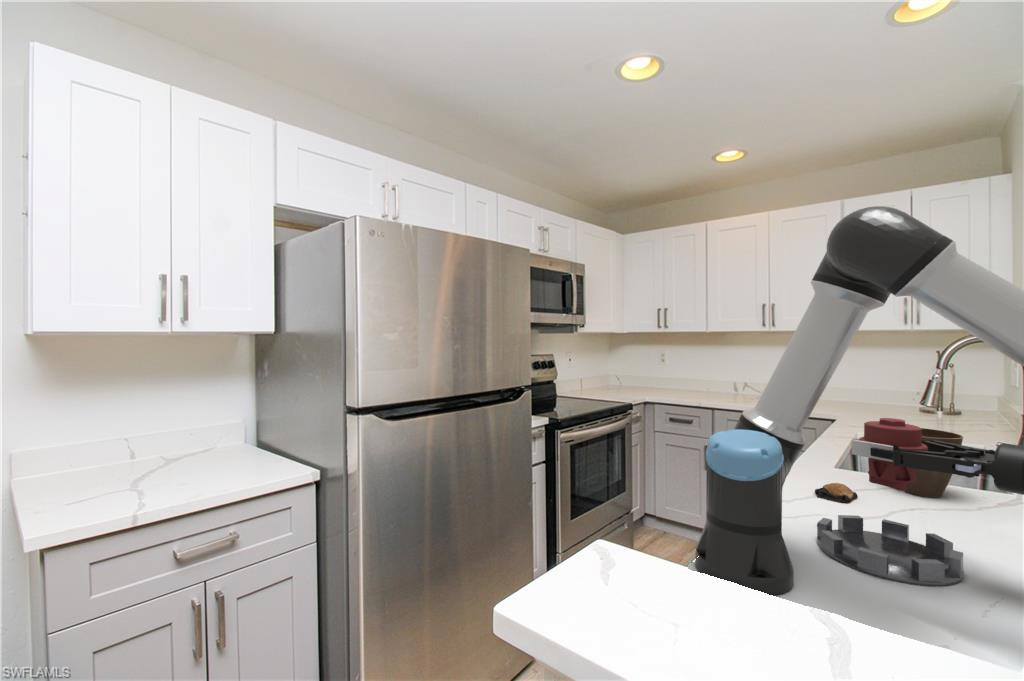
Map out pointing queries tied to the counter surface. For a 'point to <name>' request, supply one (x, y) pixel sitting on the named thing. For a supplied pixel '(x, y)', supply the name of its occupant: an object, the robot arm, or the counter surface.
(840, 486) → the bread roll
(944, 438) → the plant pot
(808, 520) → the counter surface
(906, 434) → the mechanical component
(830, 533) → the castellated collar
